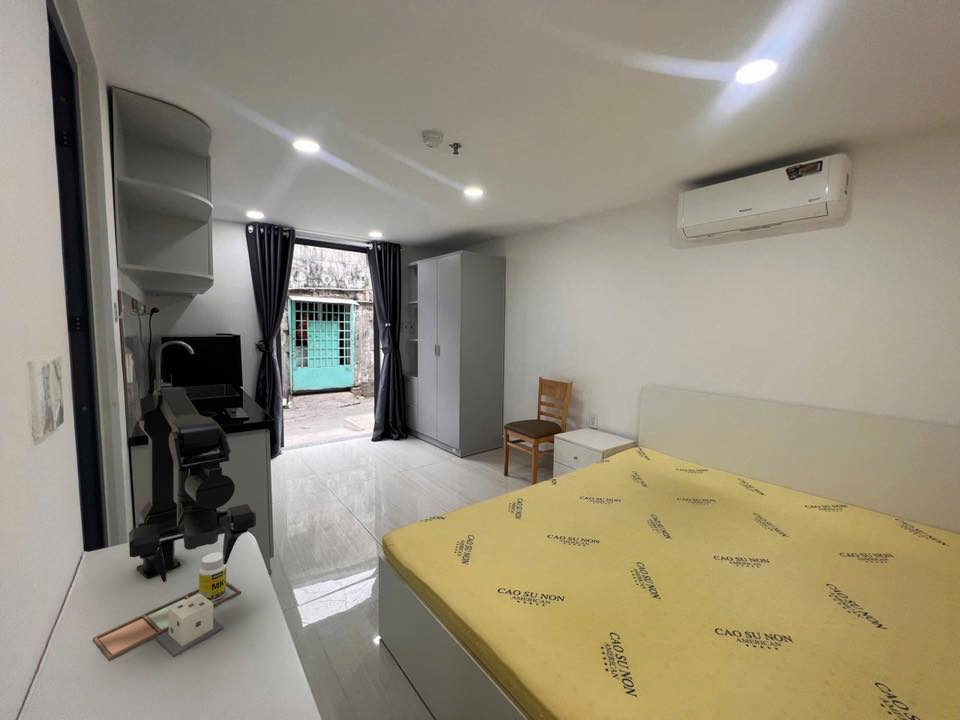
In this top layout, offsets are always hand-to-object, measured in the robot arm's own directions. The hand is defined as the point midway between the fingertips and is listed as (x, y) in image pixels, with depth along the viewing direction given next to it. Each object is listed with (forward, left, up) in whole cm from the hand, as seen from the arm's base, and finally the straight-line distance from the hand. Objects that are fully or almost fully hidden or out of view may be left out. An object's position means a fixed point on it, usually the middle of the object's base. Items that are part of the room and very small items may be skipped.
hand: (195, 571), depth 75 cm
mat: (+1, -1, -11) cm, 11 cm away
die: (+1, -1, -10) cm, 10 cm away
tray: (-7, -1, -11) cm, 13 cm away
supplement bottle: (-7, +6, -11) cm, 14 cm away
